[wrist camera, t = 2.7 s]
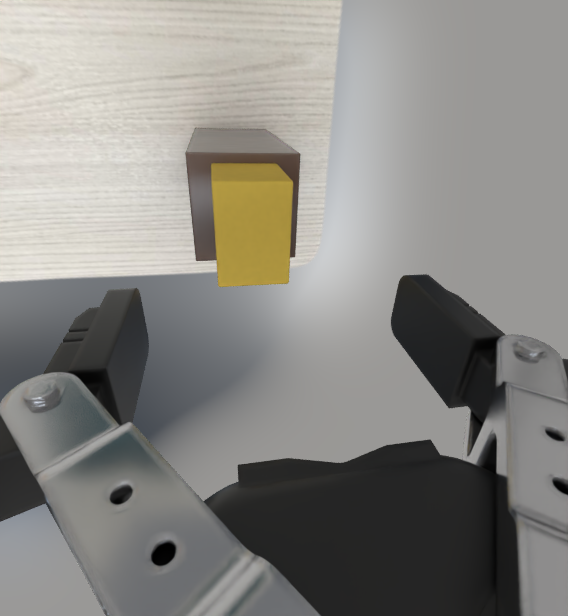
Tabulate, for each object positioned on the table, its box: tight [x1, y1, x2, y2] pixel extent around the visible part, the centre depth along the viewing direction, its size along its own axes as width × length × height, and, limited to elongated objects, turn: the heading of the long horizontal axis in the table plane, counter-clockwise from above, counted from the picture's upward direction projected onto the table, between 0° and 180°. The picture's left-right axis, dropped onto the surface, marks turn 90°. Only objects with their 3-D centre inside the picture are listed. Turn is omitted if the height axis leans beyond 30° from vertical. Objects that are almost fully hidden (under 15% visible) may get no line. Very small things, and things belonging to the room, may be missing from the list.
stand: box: [186, 128, 300, 261], centre depth 26 cm, size 6×6×14 cm
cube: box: [211, 163, 293, 287], centre depth 19 cm, size 5×4×4 cm
